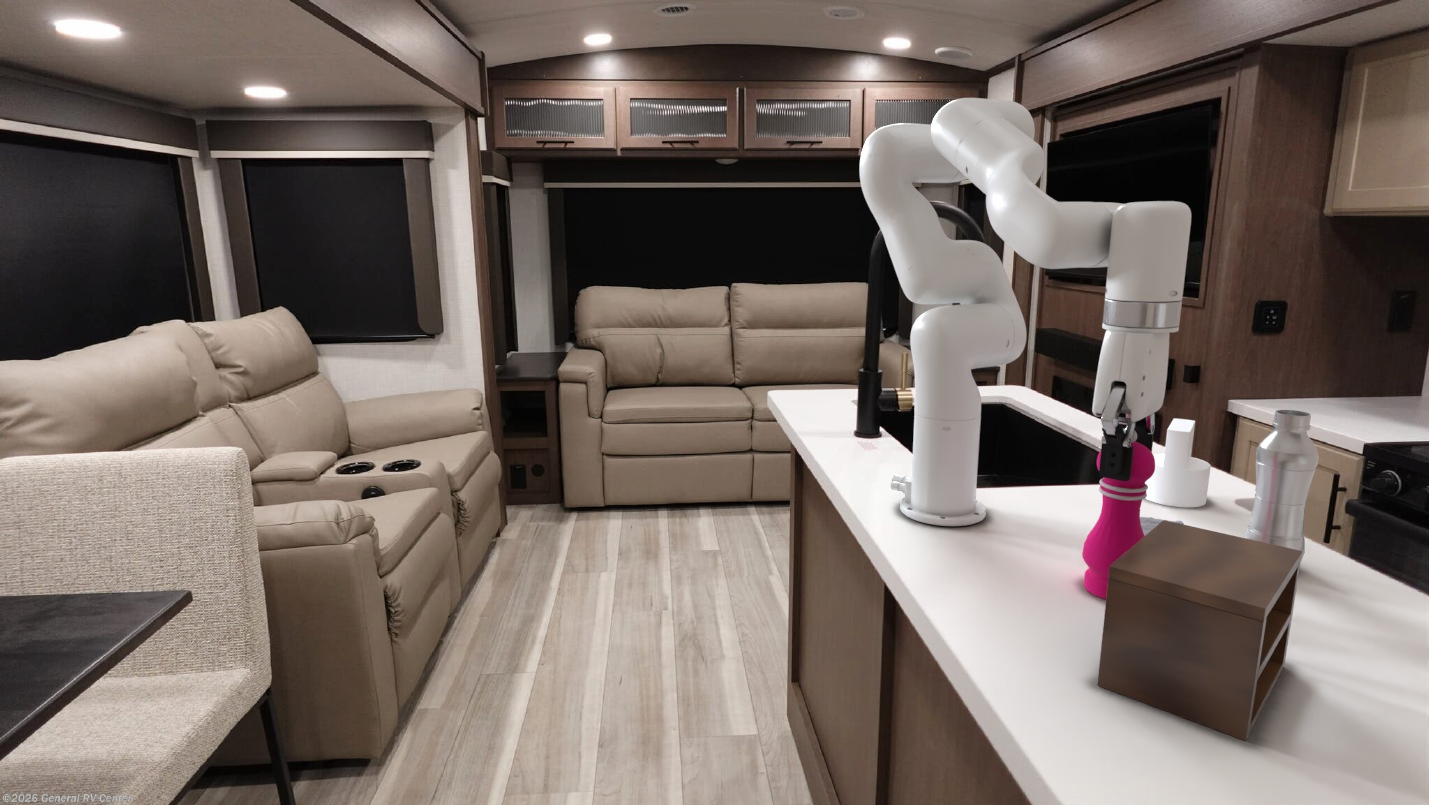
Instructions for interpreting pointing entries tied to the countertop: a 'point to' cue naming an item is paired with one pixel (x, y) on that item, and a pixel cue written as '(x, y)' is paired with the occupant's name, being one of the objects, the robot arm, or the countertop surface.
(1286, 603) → the shelf
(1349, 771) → the countertop surface
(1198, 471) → the base with upright slab
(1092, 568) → the pepper mill
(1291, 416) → the silver metal bottle
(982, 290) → the robot arm
